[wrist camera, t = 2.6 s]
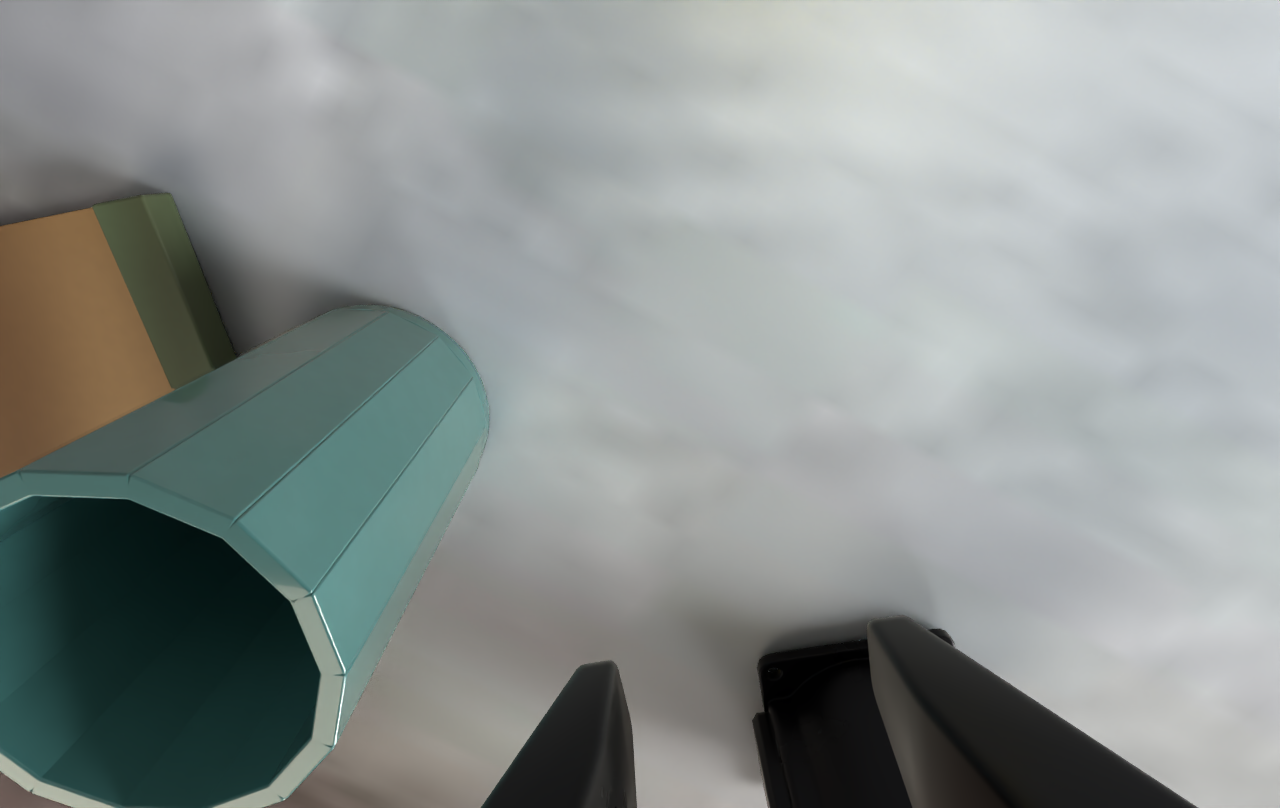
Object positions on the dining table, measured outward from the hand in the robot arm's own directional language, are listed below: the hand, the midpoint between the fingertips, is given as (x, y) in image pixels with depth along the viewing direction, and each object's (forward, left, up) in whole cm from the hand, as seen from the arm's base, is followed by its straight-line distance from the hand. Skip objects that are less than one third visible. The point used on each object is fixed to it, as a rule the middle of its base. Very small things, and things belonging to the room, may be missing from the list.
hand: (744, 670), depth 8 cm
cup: (+9, 0, -13) cm, 16 cm away
